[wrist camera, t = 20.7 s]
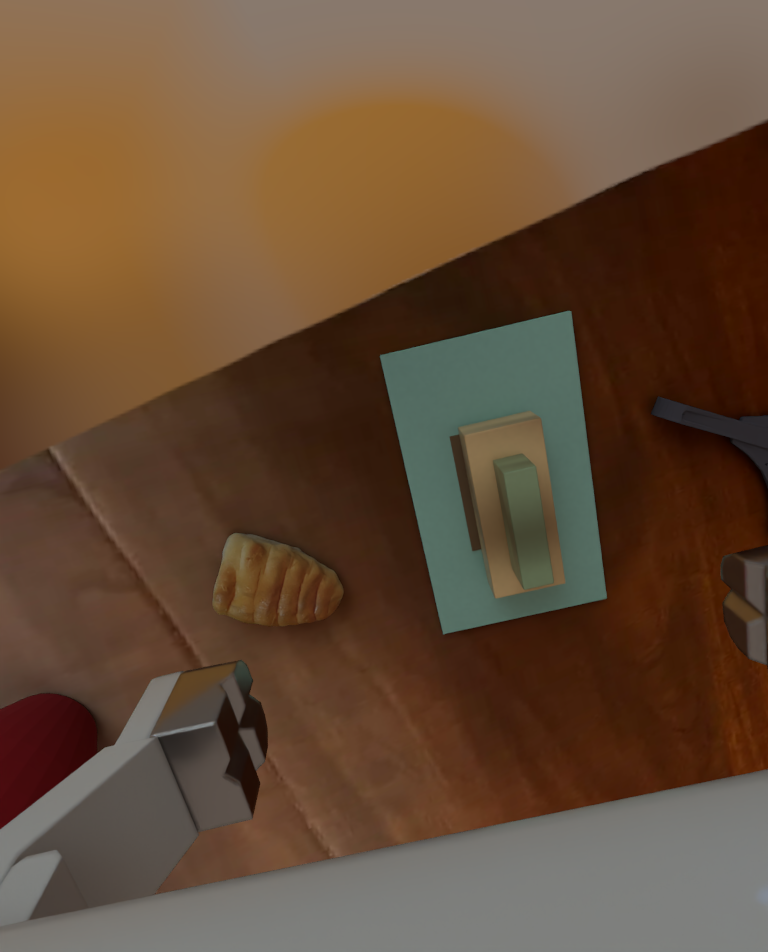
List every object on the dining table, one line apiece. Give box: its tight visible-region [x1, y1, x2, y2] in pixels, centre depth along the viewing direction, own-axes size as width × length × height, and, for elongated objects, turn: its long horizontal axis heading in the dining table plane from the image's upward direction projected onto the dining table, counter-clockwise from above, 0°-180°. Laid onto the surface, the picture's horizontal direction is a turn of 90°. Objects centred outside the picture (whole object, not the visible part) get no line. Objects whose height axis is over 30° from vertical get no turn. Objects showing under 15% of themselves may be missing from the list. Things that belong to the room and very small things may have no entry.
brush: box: [458, 411, 565, 599], centre depth 38 cm, size 12×5×7 cm, turn 13°
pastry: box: [213, 533, 344, 627], centre depth 42 cm, size 9×7×4 cm
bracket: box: [651, 397, 768, 488], centre depth 40 cm, size 14×15×3 cm
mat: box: [380, 311, 607, 634], centre depth 41 cm, size 22×13×1 cm, turn 13°
